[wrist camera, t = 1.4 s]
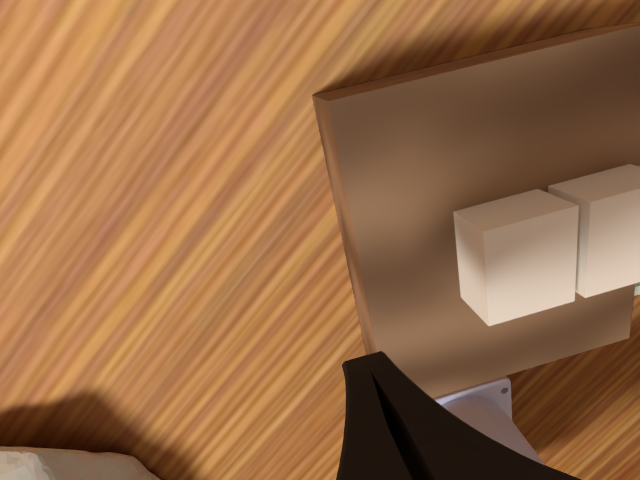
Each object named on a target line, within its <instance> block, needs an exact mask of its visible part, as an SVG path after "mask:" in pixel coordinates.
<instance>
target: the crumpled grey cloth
mask: <svg viewBox="0 0 640 480" xmlns="http://www.w3.org/2000/svg"><path fill="white" fill-rule="evenodd" d="M0 480H160V479H159V478H158V477H157V476H155V475H154V474H152V473H151V472H149V471H148V470H147V469H146V468H145V467H144V466H143V464H142V463H141V462H140V461H139V460H138V459H136V458H135V457H134V456H129V455H124V454H119V453H112V452H104V453H92V452H88V451H82V450H65V449H51V448H33V447H3V446H0Z"/></svg>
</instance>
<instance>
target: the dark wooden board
mask: <svg viewBox="0 0 640 480" xmlns="http://www.w3.org/2000/svg"><path fill="white" fill-rule="evenodd" d="M312 98H313V102H314V107H315V112H316V117H317V121H318V126H319V131H320V136H321V140H322V145H323V150H324V155H325V159H326V164H327V169H328V174H329V178H330V183H331V188H332V193H333V198H334V202H335V207H336V212H337V217H338V221H339V226H340V231H341V236H342V240H343V245H344V250H345V255H346V259H347V264H348V269H349V274H350V278H351V283H352V288H353V293H354V297H355V302H356V307H357V312H358V317H359V321H360V326H361V331H362V336H363V340H364V345H365V350H366V355H369V354H372V353H376V352H379V351H382V352H384V353H385V354H386V355H387V356H388V357H389V358H390V359H391V361H392V362H393V363H394V364H395V365H396V366H397V367H398V368H399V369H400V370H401V371H402V372H403V373H404V374H405V375H406V376H407V377H408V378H409V379H411V380H412V381H413V382H414V383H415V384H416V385H417V386H418V387H420V388H421V389H422V390H423V391H424V392H425V393H426V394H428V395H429V396H430V397H431V398H434V397H437V396H441V395H444V394H447V393H450V392H454V391H457V390H460V389H464V388H467V387H470V386H473V385H477V384H480V383H483V382H487V381H490V380H493V379H496V378H500V377H503V376H506V375H510V374H513V373H516V372H519V371H523V370H526V369H529V368H533V367H536V366H539V365H542V364H546V363H549V362H552V361H556V360H559V359H562V358H565V357H569V356H572V355H575V354H579V353H582V352H585V351H589V350H592V349H595V348H598V347H602V346H605V345H608V344H612V343H615V342H618V341H621V340H625V339H628V338H629V337H630V328H631V319H632V310H633V301H634V292H635V284H632V285H628V286H625V287H621V288H618V289H615V290H611V291H608V292H604V293H601V294H598V295H594V296H591V297H587V298H584V297H583V296H581V295H580V294H578V293H577V292H575V301H574V302H570V303H567V304H564V305H560V306H557V307H553V308H550V309H547V310H543V311H540V312H536V313H533V314H529V315H526V316H523V317H519V318H516V319H512V320H509V321H506V322H502V323H499V324H495V325H492V326H488V325H487V324H486V323H485V322H484V321H483V320H482V319H481V318H480V317H479V316H478V315H477V314H476V313H475V312H474V311H473V310H472V309H471V307H470V306H469V305H468V304H467V303H466V302H465V301H464V300H463V299H462V298H461V294H460V282H459V271H458V260H457V248H456V237H455V225H454V214H453V212H454V211H457V210H461V209H465V208H468V207H472V206H476V205H479V204H483V203H487V202H491V201H494V200H498V199H502V198H505V197H509V196H513V195H517V194H520V193H524V192H528V191H531V190H535V189H539V190H542V191H544V192H547V193H548V186H550V185H554V184H557V183H561V182H565V181H568V180H572V179H576V178H579V177H583V176H587V175H591V174H594V173H598V172H602V171H605V170H609V169H613V168H616V167H620V166H624V165H628V164H631V165H635V166H640V22H638V23H629V24H621V25H613V26H604V27H596V28H588V29H584V30H580V31H576V32H572V33H568V34H564V35H559V36H555V37H551V38H547V39H543V40H539V41H535V42H531V43H526V44H522V45H518V46H514V47H510V48H506V49H502V50H497V51H493V52H489V53H485V54H481V55H477V56H473V57H468V58H464V59H460V60H456V61H452V62H448V63H444V64H440V65H435V66H431V67H427V68H423V69H419V70H415V71H411V72H406V73H402V74H398V75H394V76H390V77H386V78H382V79H378V80H373V81H369V82H365V83H361V84H357V85H353V86H349V87H344V88H340V89H336V90H332V91H328V92H324V93H320V94H316V95H312Z"/></svg>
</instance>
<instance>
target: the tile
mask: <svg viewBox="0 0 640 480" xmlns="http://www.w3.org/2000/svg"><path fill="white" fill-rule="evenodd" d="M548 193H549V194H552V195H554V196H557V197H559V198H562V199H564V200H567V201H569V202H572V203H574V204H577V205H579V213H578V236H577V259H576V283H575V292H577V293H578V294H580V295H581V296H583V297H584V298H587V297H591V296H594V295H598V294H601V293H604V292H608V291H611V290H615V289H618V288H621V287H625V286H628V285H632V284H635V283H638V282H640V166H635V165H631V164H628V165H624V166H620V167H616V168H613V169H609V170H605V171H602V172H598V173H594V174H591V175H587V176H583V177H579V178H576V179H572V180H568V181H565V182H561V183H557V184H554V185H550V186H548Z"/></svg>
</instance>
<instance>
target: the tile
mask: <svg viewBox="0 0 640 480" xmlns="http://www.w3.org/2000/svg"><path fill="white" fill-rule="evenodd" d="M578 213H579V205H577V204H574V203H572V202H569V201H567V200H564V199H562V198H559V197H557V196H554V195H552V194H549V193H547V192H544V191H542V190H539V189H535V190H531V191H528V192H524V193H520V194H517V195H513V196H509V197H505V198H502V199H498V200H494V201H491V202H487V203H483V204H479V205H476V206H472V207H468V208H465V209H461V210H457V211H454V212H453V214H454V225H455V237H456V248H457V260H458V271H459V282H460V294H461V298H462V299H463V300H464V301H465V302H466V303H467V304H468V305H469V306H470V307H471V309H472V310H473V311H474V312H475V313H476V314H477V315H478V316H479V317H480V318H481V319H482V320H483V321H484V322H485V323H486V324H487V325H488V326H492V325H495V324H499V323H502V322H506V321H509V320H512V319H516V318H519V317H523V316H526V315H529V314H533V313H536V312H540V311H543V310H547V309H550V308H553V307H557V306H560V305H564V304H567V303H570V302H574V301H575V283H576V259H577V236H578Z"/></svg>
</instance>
